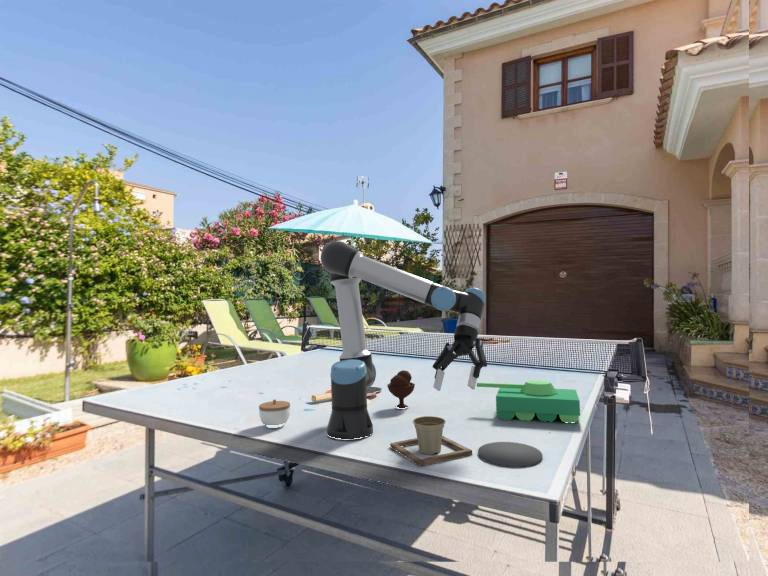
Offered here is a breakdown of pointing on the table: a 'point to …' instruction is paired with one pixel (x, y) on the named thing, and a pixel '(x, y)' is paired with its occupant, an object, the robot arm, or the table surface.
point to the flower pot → (429, 433)
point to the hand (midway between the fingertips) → (453, 388)
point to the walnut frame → (460, 453)
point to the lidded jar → (274, 412)
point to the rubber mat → (510, 454)
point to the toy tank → (535, 401)
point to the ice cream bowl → (401, 386)
